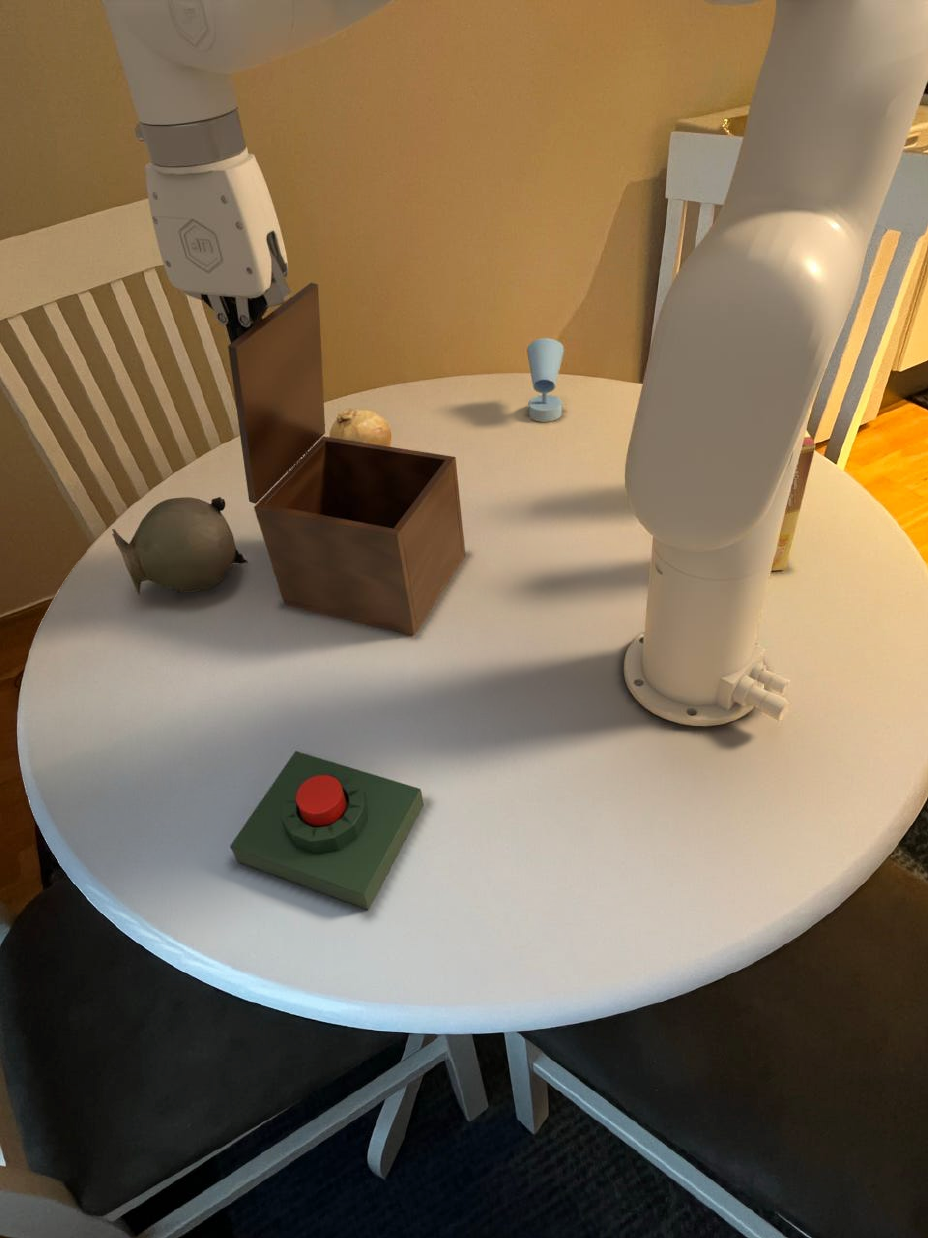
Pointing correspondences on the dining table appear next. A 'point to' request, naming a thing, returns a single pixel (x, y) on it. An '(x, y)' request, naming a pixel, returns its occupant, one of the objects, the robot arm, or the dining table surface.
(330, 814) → the button
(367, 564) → the chest
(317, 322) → the lid
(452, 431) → the dining table surface
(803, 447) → the candy box
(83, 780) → the dining table surface
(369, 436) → the onion
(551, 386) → the spotlight
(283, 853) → the control
